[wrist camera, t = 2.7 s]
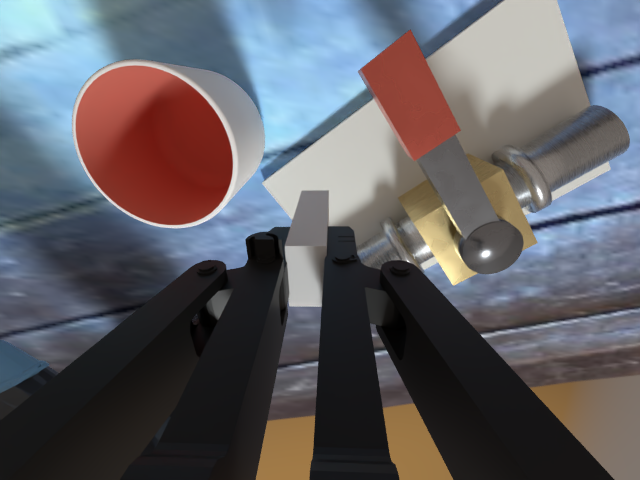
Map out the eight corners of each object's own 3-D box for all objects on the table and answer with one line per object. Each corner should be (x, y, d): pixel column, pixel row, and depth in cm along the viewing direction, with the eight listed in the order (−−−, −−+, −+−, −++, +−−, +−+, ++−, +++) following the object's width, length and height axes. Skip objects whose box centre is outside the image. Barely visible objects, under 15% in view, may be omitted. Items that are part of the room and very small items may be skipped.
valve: (360, 286, 34) (367, 334, 27) (324, 240, 32) (322, 280, 25) (586, 159, 27) (669, 182, 21) (562, 89, 25) (646, 89, 18)
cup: (263, 70, 25) (226, 58, 16) (271, 187, 30) (245, 230, 21) (144, 69, 25) (42, 58, 16) (170, 186, 30) (101, 228, 21)
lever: (517, 243, 23) (532, 256, 21) (466, 269, 24) (477, 283, 22) (410, 29, 17) (419, 22, 15) (350, 77, 18) (352, 75, 16)
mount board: (360, 298, 35) (360, 303, 34) (264, 180, 29) (261, 183, 28) (601, 166, 28) (610, 169, 27) (537, -27, 22) (546, -32, 21)
